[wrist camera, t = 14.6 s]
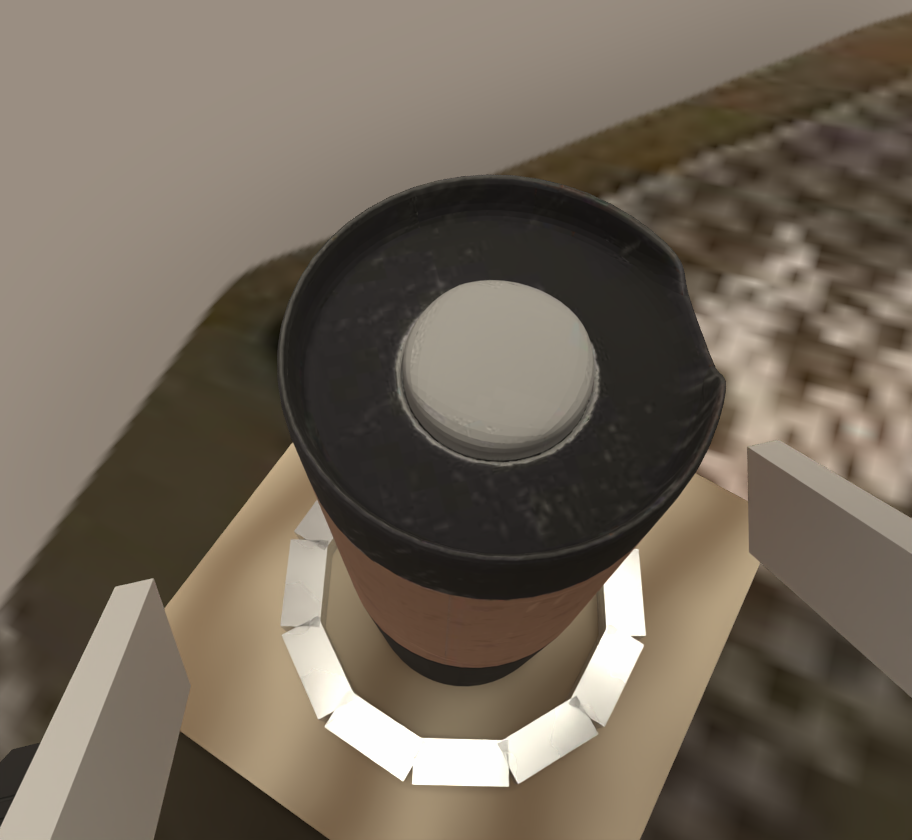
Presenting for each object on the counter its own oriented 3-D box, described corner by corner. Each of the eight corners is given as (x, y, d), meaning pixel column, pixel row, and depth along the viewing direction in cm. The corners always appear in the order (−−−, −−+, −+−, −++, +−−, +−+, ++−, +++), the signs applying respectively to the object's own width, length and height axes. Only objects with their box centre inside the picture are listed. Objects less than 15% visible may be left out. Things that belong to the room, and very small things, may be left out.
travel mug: (331, 618, 30) (166, 388, 12) (441, 474, 32) (446, 107, 14) (488, 737, 28) (581, 684, 10) (591, 574, 31) (809, 298, 13)
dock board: (765, 528, 33) (779, 518, 32) (558, 997, 26) (565, 1010, 24) (395, 328, 37) (393, 311, 36) (124, 683, 30) (109, 679, 29)
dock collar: (688, 540, 31) (699, 530, 30) (530, 866, 26) (534, 872, 25) (411, 386, 34) (411, 370, 33) (219, 652, 29) (209, 647, 28)
